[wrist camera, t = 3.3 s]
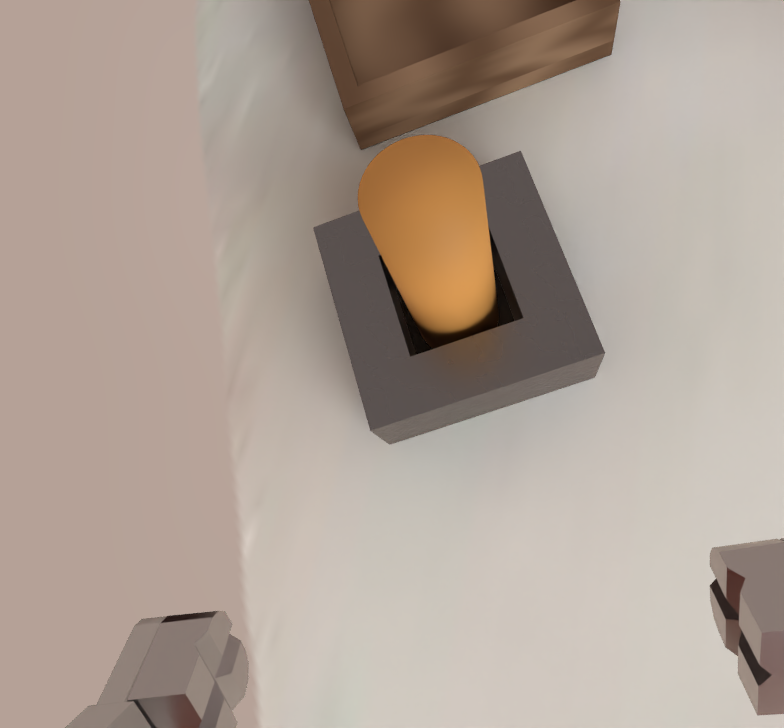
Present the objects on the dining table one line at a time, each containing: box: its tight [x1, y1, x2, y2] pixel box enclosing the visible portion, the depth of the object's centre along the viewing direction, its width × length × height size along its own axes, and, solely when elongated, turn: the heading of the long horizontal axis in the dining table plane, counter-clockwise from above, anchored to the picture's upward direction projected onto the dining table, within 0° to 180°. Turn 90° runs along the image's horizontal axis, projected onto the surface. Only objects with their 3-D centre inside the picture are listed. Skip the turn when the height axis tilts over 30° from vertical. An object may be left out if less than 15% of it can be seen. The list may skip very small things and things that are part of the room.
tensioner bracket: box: [314, 151, 605, 444], centre depth 30 cm, size 10×10×4 cm
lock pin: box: [358, 135, 499, 349], centre depth 26 cm, size 4×4×12 cm
